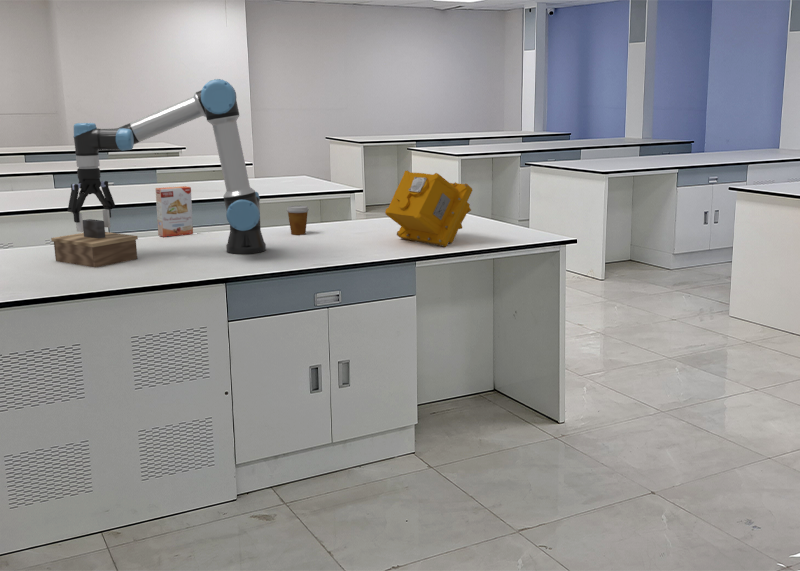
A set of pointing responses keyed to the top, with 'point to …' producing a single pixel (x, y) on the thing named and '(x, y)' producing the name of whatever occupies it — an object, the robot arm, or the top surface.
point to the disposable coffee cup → (297, 219)
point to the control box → (429, 208)
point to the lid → (94, 235)
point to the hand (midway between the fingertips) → (93, 229)
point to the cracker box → (174, 211)
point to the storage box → (95, 253)
